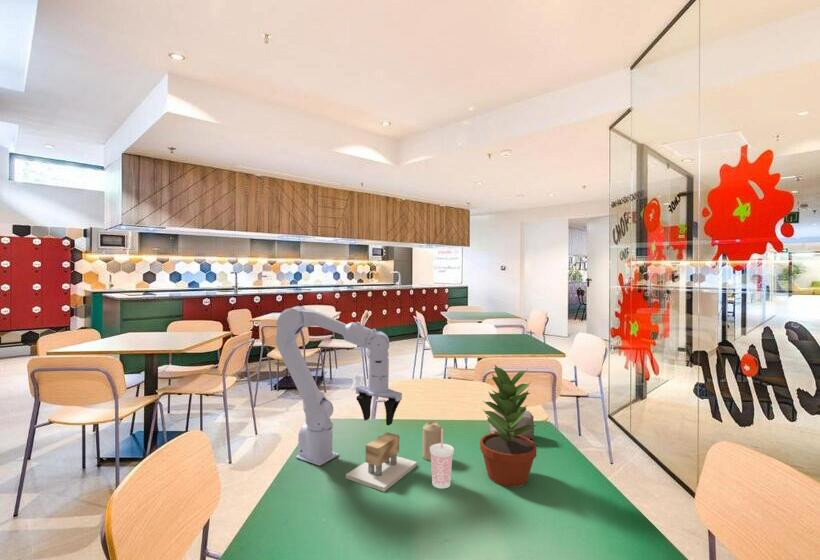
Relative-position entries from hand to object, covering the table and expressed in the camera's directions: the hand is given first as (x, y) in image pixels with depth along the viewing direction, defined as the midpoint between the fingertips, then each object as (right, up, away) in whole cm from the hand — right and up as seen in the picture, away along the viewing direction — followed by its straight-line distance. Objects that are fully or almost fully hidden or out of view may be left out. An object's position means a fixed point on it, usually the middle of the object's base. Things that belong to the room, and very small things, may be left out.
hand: (377, 421), depth 115 cm
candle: (+16, -11, +1) cm, 19 cm away
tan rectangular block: (+2, -7, -8) cm, 11 cm away
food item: (+43, -11, +17) cm, 47 cm away
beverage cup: (+17, -11, -14) cm, 25 cm away
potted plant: (+35, -11, -9) cm, 38 cm away
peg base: (+2, -11, -8) cm, 13 cm away
